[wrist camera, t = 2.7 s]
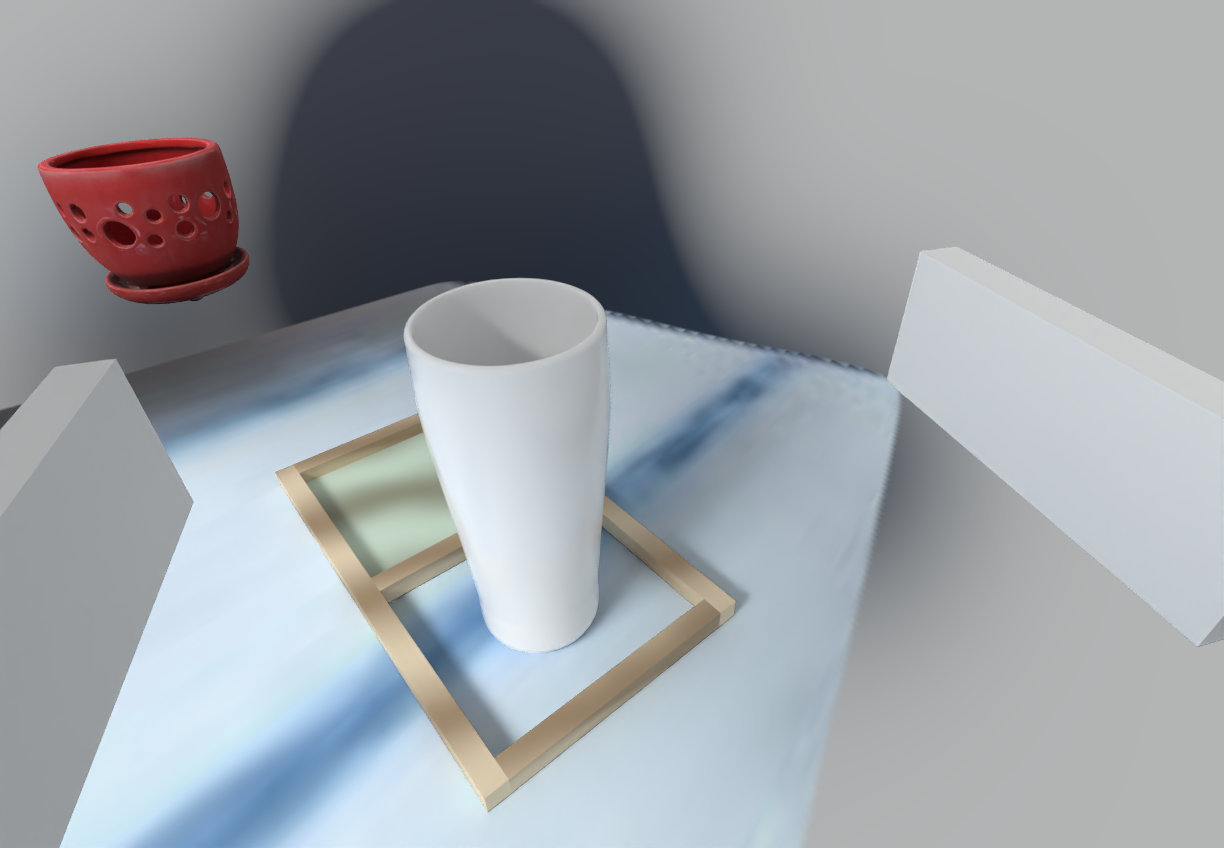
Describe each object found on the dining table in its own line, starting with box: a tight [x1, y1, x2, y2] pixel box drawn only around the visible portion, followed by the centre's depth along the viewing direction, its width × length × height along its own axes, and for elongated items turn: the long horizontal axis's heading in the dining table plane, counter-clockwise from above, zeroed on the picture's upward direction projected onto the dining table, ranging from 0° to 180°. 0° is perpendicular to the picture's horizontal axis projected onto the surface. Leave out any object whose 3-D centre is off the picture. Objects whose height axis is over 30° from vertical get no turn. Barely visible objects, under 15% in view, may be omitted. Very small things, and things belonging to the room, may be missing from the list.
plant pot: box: [38, 138, 249, 304], centre depth 57 cm, size 13×13×12 cm
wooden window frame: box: [275, 414, 736, 812], centre depth 33 cm, size 23×13×1 cm, turn 40°
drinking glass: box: [404, 278, 611, 653], centre depth 26 cm, size 7×7×15 cm
